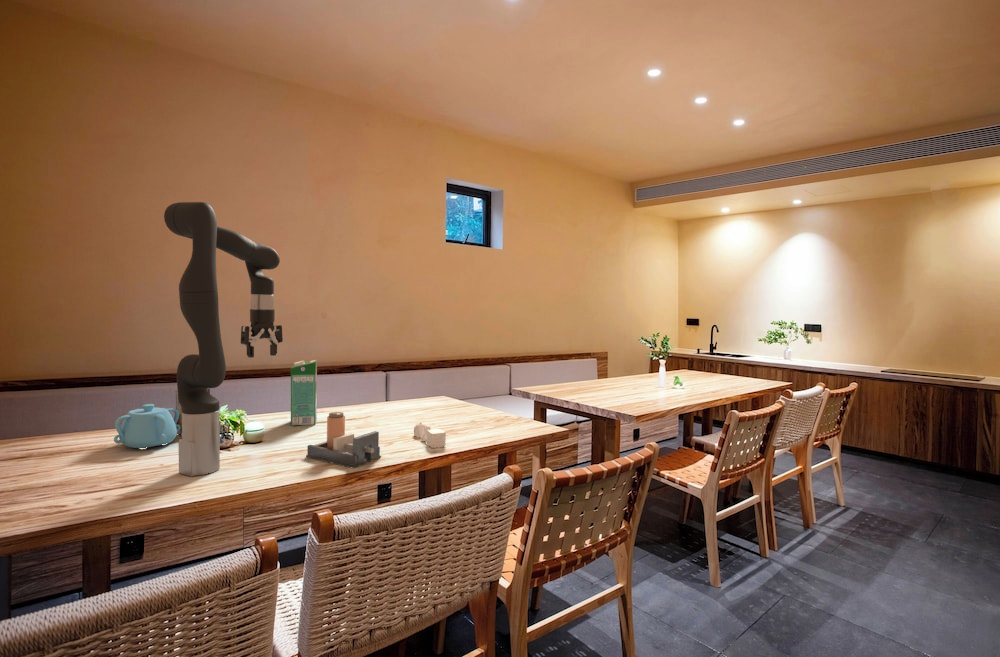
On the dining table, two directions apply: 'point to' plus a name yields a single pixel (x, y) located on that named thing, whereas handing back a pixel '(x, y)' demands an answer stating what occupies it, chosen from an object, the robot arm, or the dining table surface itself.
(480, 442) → the dining table surface
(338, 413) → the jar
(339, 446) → the pusher
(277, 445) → the dining table surface
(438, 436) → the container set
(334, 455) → the grey holder
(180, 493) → the dining table surface
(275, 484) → the dining table surface
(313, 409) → the milk carton
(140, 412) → the decorative pot
